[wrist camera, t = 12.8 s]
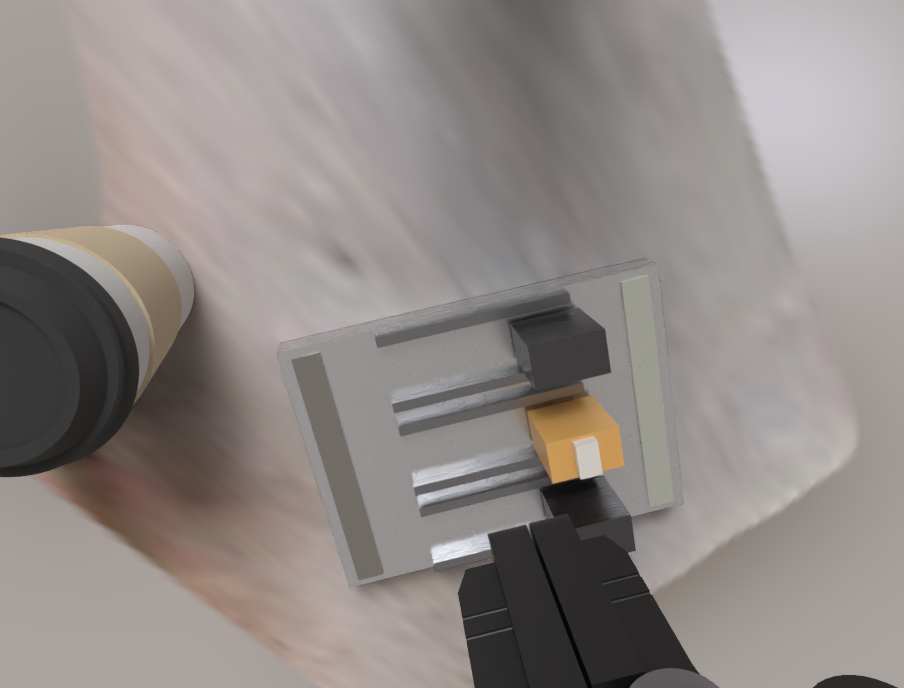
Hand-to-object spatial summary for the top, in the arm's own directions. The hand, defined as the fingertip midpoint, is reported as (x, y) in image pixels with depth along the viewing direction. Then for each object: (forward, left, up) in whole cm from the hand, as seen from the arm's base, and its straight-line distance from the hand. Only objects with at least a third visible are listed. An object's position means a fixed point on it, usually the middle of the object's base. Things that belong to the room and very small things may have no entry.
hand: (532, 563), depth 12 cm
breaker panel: (+10, +2, -27) cm, 29 cm away
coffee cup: (-3, -16, -27) cm, 32 cm away
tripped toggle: (+10, +6, -25) cm, 27 cm away
